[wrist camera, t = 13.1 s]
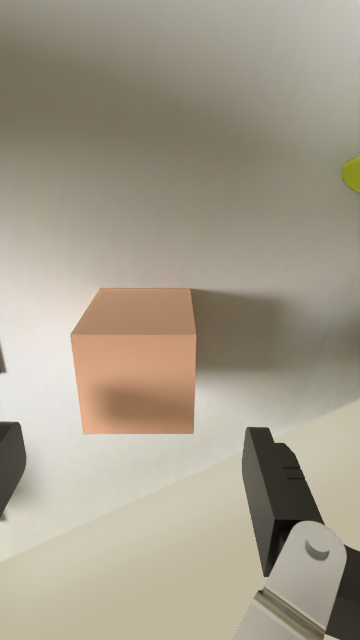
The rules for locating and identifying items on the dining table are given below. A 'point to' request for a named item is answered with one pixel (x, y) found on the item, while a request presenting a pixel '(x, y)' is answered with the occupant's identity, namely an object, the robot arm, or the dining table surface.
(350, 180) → the bird rattle
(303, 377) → the dining table surface
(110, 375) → the peach orange block
